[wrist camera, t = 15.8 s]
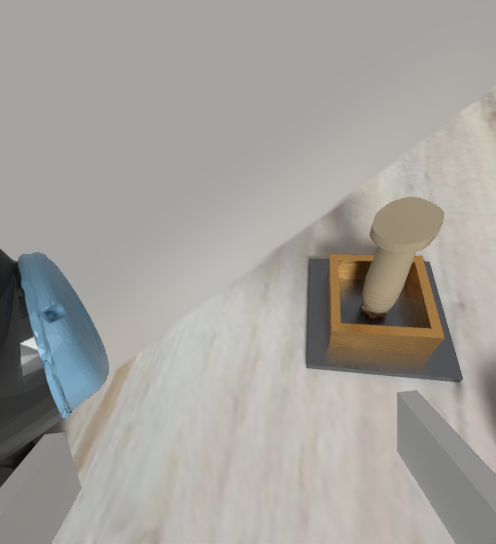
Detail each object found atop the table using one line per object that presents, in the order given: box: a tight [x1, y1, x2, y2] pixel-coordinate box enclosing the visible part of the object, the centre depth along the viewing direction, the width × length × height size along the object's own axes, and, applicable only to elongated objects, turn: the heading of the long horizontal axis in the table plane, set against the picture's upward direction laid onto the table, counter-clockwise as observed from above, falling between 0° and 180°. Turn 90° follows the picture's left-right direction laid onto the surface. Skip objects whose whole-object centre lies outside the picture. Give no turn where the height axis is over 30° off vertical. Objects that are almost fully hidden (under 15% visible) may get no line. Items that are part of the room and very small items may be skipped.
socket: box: [307, 254, 463, 382], centre depth 36 cm, size 16×16×5 cm
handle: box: [361, 197, 444, 319], centre depth 31 cm, size 5×6×15 cm
